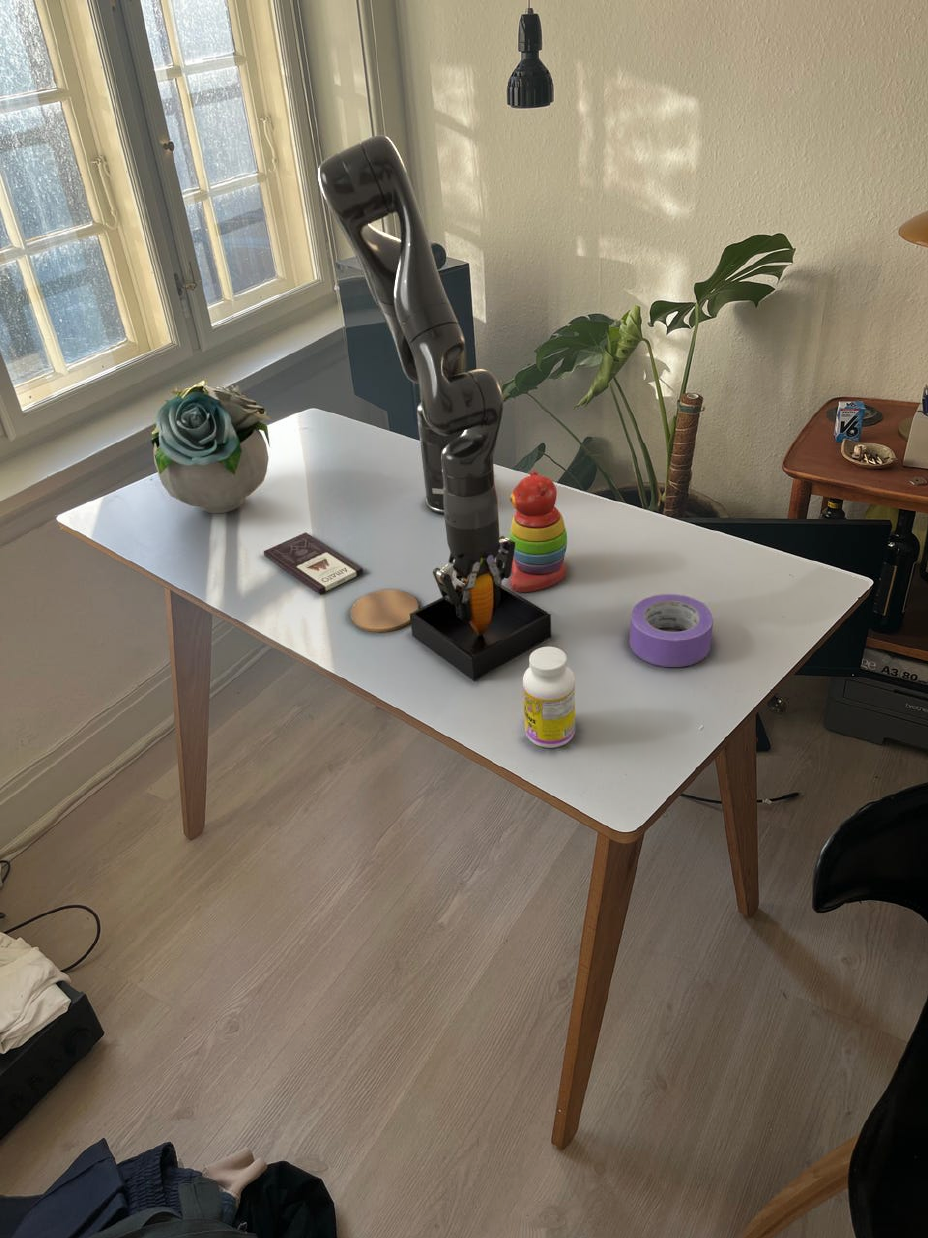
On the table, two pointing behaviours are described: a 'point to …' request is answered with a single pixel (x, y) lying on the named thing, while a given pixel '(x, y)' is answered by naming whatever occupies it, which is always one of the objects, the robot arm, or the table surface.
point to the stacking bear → (537, 535)
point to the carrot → (481, 602)
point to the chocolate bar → (313, 562)
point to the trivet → (383, 610)
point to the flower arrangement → (211, 447)
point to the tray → (503, 640)
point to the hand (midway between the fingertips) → (479, 612)
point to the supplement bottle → (549, 698)
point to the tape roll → (671, 645)
